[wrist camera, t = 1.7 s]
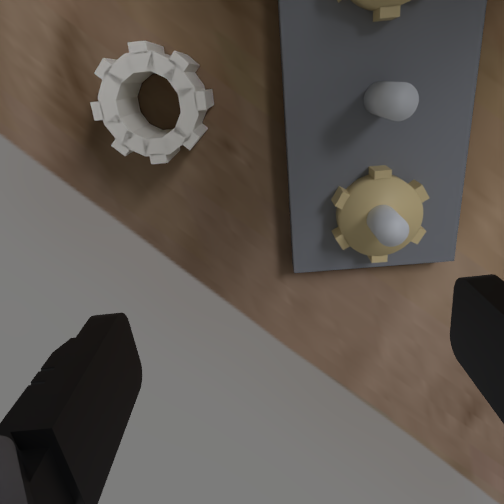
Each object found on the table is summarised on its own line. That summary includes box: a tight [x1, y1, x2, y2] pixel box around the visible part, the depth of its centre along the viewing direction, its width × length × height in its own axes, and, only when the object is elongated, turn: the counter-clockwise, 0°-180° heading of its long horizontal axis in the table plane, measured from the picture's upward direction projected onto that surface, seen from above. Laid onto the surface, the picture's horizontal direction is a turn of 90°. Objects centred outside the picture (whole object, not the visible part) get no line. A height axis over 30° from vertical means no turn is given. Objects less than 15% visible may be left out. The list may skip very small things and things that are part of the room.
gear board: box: [278, 0, 487, 273], centre depth 24 cm, size 24×12×6 cm, turn 5°
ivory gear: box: [90, 41, 214, 164], centre depth 25 cm, size 7×7×4 cm
